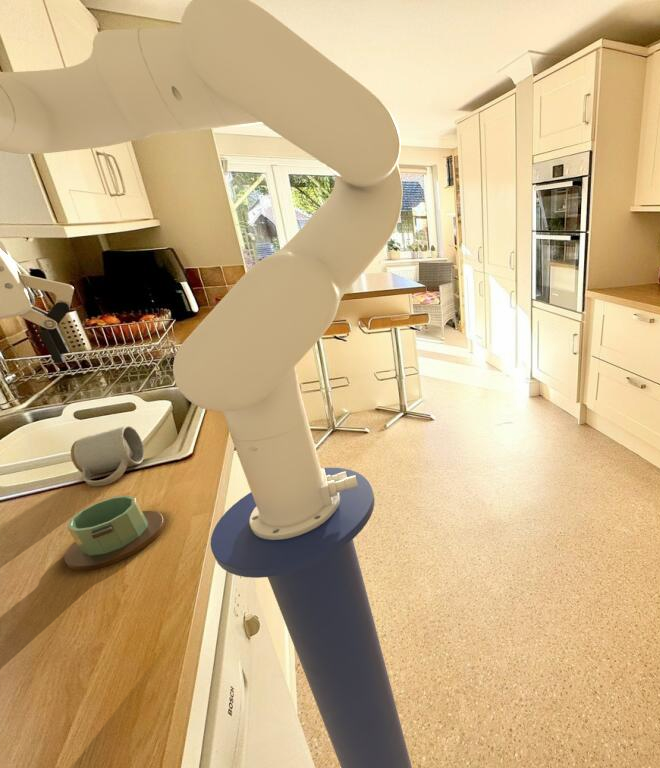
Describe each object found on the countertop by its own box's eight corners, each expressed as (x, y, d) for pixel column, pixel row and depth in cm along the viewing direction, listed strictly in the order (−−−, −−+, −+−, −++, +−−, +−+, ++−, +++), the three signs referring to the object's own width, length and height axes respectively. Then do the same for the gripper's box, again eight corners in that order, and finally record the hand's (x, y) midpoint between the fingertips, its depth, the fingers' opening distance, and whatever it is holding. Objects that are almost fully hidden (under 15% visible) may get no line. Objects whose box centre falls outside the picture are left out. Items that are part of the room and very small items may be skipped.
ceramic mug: (96, 463, 81) (77, 429, 77) (148, 451, 84) (132, 418, 81) (74, 495, 72) (52, 458, 69) (133, 480, 75) (115, 444, 72)
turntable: (171, 506, 68) (169, 502, 68) (156, 550, 59) (153, 546, 59) (83, 530, 63) (81, 526, 63) (52, 583, 54) (49, 578, 54)
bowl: (85, 534, 61) (71, 510, 60) (147, 512, 65) (135, 489, 64) (78, 568, 55) (62, 543, 54) (147, 541, 59) (134, 517, 58)
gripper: (37, 205, 47) (103, 346, 54) (-241, 212, 37) (-116, 386, 44) (30, 203, 42) (103, 359, 49) (-295, 210, 32) (-143, 408, 39)
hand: (0, 372), depth 46 cm, fingers open, 9 cm apart
